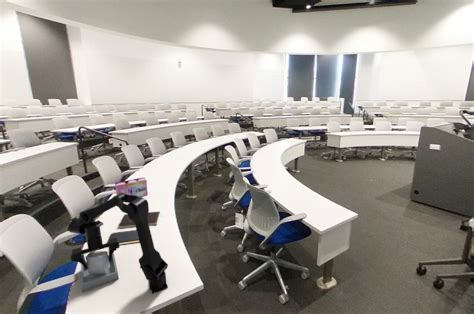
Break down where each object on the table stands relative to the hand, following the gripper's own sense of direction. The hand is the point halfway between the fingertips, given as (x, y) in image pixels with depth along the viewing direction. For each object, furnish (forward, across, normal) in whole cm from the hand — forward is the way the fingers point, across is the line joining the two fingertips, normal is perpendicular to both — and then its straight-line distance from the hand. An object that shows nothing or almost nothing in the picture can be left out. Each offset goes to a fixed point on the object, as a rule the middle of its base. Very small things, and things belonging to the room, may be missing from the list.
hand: (98, 265), depth 112 cm
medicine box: (+3, 0, 0) cm, 3 cm away
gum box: (+5, -29, -89) cm, 94 cm away
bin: (+5, 0, 0) cm, 5 cm away
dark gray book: (+6, -15, -26) cm, 31 cm away
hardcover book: (+6, -26, -44) cm, 51 cm away
